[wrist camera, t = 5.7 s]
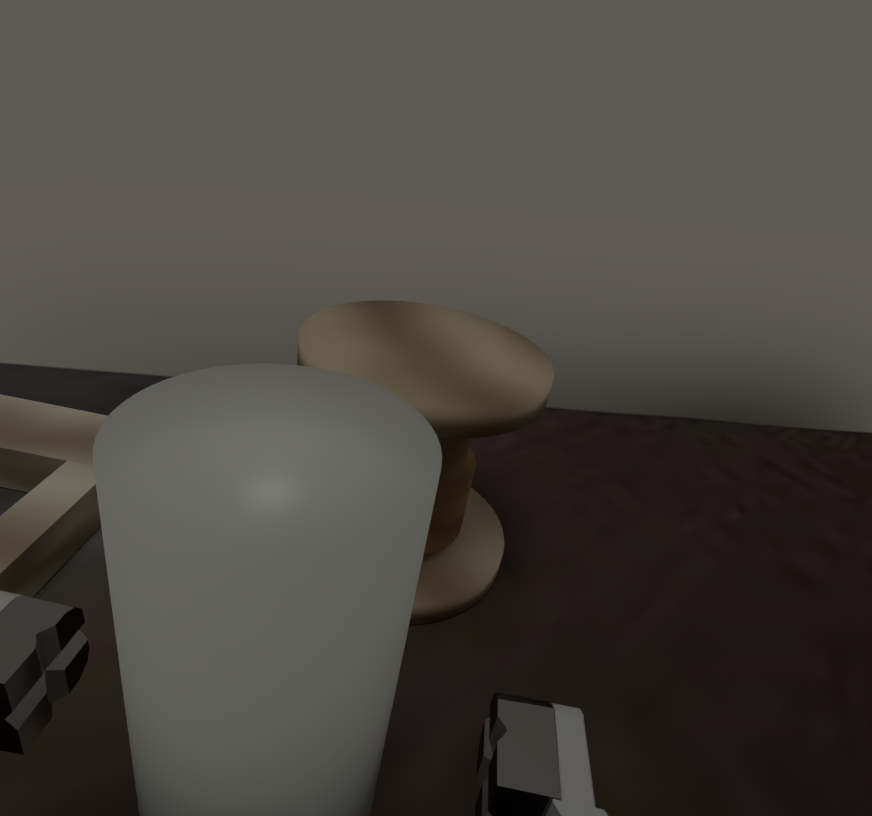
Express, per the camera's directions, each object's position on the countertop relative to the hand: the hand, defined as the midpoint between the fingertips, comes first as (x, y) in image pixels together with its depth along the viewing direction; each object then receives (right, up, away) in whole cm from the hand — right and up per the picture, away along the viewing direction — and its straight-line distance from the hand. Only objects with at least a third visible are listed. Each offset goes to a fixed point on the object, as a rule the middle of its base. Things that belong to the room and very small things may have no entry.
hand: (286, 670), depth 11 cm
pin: (-1, -7, +3) cm, 8 cm away
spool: (+1, -1, +15) cm, 15 cm away
